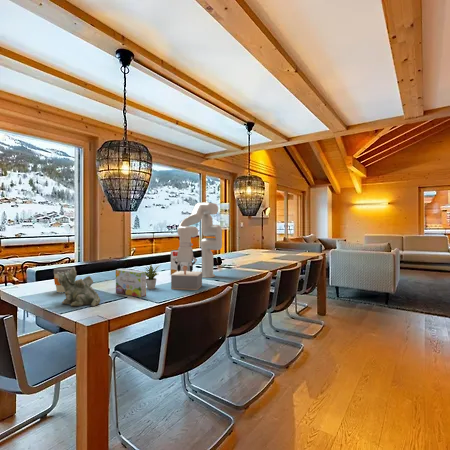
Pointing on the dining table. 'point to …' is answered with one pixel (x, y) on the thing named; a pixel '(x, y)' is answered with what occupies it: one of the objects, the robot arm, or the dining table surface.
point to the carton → (186, 282)
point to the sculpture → (78, 289)
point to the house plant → (151, 277)
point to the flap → (186, 272)
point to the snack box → (131, 282)
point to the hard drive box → (174, 265)
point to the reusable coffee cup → (59, 269)
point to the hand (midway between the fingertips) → (185, 271)
